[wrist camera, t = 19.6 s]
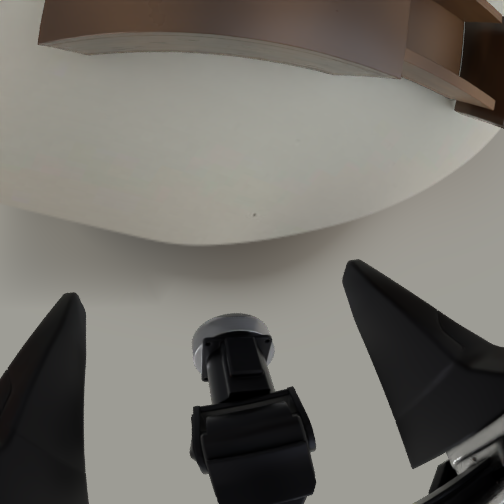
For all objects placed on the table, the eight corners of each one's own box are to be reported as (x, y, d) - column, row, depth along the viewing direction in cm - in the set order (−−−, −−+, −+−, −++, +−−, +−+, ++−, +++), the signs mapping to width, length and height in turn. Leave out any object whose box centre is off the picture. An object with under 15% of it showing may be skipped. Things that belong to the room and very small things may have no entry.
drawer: (480, 27, 14) (526, 32, 10) (469, 118, 19) (516, 135, 15) (325, -58, 11) (366, -87, 6) (309, 58, 15) (352, 53, 11)
